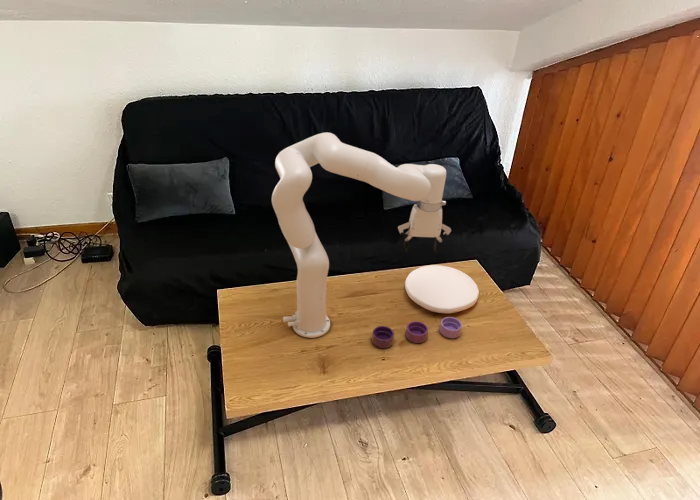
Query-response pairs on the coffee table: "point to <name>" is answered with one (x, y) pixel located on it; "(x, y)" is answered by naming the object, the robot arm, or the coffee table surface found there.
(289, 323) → the robot arm
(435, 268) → the plate
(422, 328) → the plum dish
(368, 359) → the coffee table surface
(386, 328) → the aubergine dish
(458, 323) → the lilac dish
